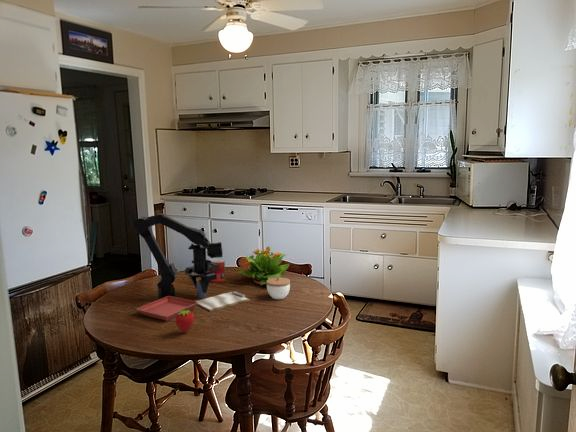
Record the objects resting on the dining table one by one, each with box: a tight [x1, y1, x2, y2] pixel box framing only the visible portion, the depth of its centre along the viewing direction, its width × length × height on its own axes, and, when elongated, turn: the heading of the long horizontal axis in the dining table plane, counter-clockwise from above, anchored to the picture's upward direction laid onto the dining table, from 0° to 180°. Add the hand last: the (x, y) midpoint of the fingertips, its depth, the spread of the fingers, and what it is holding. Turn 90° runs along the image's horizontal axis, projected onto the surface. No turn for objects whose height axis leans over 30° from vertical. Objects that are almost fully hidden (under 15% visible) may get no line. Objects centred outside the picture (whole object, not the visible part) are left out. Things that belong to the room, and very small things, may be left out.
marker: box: [196, 277, 207, 299], centre depth 202 cm, size 4×4×9 cm
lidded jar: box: [265, 276, 291, 300], centre depth 199 cm, size 11×11×9 cm
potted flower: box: [237, 246, 290, 286], centre depth 224 cm, size 25×24×18 cm
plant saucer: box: [136, 296, 198, 322], centre depth 184 cm, size 18×18×3 cm
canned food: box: [209, 257, 226, 284], centre depth 227 cm, size 8×8×11 cm
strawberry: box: [175, 307, 195, 334], centre depth 162 cm, size 6×8×10 cm
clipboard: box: [194, 290, 251, 313], centre depth 196 cm, size 20×15×2 cm
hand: (201, 291), depth 202 cm, fingers open, 6 cm apart
